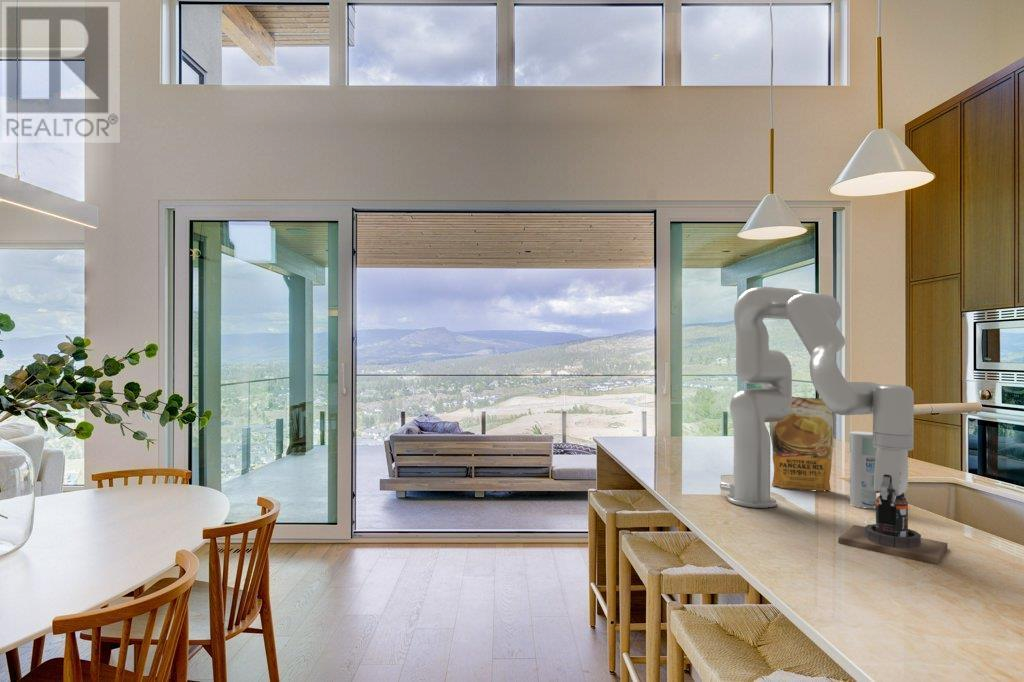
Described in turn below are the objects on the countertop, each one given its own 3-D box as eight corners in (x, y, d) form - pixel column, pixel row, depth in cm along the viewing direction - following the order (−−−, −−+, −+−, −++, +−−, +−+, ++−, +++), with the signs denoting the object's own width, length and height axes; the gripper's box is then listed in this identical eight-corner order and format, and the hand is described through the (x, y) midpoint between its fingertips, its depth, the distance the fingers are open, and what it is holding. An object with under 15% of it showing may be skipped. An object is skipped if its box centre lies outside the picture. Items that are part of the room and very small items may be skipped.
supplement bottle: (913, 545, 125) (913, 492, 125) (882, 543, 126) (882, 490, 126) (900, 536, 131) (901, 485, 131) (871, 534, 132) (871, 484, 132)
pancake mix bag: (765, 482, 187) (766, 395, 187) (832, 488, 180) (833, 397, 181) (767, 487, 180) (768, 397, 180) (837, 493, 174) (837, 399, 174)
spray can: (866, 510, 156) (866, 435, 156) (843, 503, 162) (844, 431, 162) (882, 507, 159) (882, 434, 159) (859, 501, 165) (859, 430, 165)
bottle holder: (838, 542, 130) (838, 528, 130) (853, 529, 139) (853, 516, 139) (937, 564, 117) (937, 548, 117) (947, 548, 127) (947, 533, 127)
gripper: (882, 435, 137) (881, 508, 137) (863, 443, 125) (862, 523, 125) (920, 439, 132) (920, 514, 132) (905, 448, 120) (904, 532, 119)
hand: (892, 519), depth 128 cm, fingers open, 9 cm apart
